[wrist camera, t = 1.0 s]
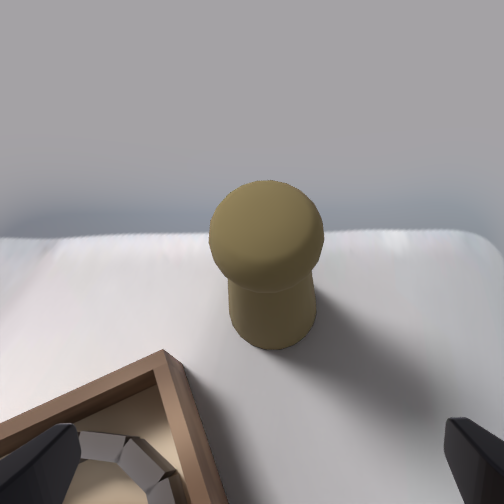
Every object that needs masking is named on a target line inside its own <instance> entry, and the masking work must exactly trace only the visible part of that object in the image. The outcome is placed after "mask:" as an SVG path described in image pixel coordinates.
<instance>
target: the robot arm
mask: <svg viewBox="0 0 504 504" xmlns="http://www.w3.org/2000/svg"><path fill="white" fill-rule="evenodd" d="M444 453H445V457H446V459H447V462H448V464H449V467H450V469H451V472H452V474H453V477H454V479H455V481H456V484H457V486H458V489H459V491H460V494H461V496H462V499H463V501H464V504H504V441H503V440H501V439H499V438H498V437H496V436H495V435H493V434H492V433H490V432H489V431H487V430H485V429H484V428H482V427H481V426H479V425H478V424H476V423H475V422H473V421H472V420H470V419H468V418H465V417H451V418H448V419H447V421H446V427H445V438H444ZM80 459H81V446H80V441H79V437H78V433H77V429H76V426H75V425H74V424H72V423H60V424H56V425H54V426H53V427H51V428H49V429H48V430H46V431H45V432H43V433H42V434H40V435H39V436H37V437H35V438H34V439H32V440H31V441H29V442H28V443H26V444H24V445H23V446H21V447H20V448H18V449H17V450H15V451H14V452H12V453H10V454H9V455H7V456H6V457H4V458H3V459H1V460H0V504H63V501H64V499H65V496H66V494H67V491H68V489H69V486H70V484H71V482H72V479H73V477H74V474H75V472H76V469H77V467H78V464H79V462H80Z"/></svg>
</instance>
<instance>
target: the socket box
mask: <svg viewBox="0 0 504 504" xmlns="http://www.w3.org/2000/svg"><path fill="white" fill-rule="evenodd" d="M60 423H72V424H74V425H75V426H76V429H77V433H78V437H79V441H80V446H81V459H80V462H79V464H78V467H77V469H76V472H75V474H74V477H73V479H72V482H71V484H70V486H69V489H68V491H67V494H66V496H65V499H64V501H63V504H229V503H228V500H227V497H226V494H225V491H224V488H223V485H222V482H221V479H220V476H219V473H218V470H217V467H216V464H215V461H214V458H213V455H212V452H211V449H210V446H209V443H208V440H207V437H206V434H205V431H204V428H203V425H202V422H201V419H200V416H199V413H198V410H197V407H196V404H195V401H194V398H193V395H192V392H191V389H190V386H189V383H188V380H187V377H186V374H185V371H184V368H183V365H182V363H181V362H179V361H178V360H177V359H175V358H174V357H173V356H171V355H170V354H169V353H167V352H166V351H165V350H163V349H162V350H160V351H158V352H155V353H153V354H151V355H149V356H147V357H145V358H142V359H140V360H138V361H136V362H134V363H131V364H129V365H127V366H125V367H123V368H120V369H118V370H116V371H114V372H112V373H110V374H107V375H105V376H103V377H101V378H99V379H96V380H94V381H92V382H90V383H88V384H86V385H83V386H81V387H79V388H77V389H75V390H72V391H70V392H68V393H66V394H64V395H61V396H59V397H57V398H55V399H53V400H51V401H48V402H46V403H44V404H42V405H40V406H37V407H35V408H33V409H31V410H29V411H27V412H24V413H22V414H20V415H18V416H16V417H13V418H11V419H9V420H7V421H5V422H2V423H0V460H1V459H3V458H4V457H6V456H7V455H9V454H10V453H12V452H14V451H15V450H17V449H18V448H20V447H21V446H23V445H24V444H26V443H28V442H29V441H31V440H32V439H34V438H35V437H37V436H39V435H40V434H42V433H43V432H45V431H46V430H48V429H49V428H51V427H53V426H54V425H56V424H60Z"/></svg>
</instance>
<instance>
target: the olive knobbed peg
mask: <svg viewBox="0 0 504 504" xmlns="http://www.w3.org/2000/svg"><path fill="white" fill-rule="evenodd" d="M323 243H324V231H323V223H322V219H321V216H320V214H319V212H318V210H317V208H316V206H315V205H314V203H313V202H312V201H311V200H310V199H309V198H308V197H307V196H306V195H305V194H304V193H302V192H301V191H300V190H299V189H297V188H295V187H293V186H291V185H289V184H287V183H282V182H278V181H273V180H270V181H269V180H268V181H255V182H252V183H249V184H245V185H242V186H240V187H239V188H237V189H235V190H234V191H232V192H230V193H229V194H228V195H227V196H226V198H225V199H224V200H223V201H222V202H221V203H220V204H219V205H218V207H217V208H216V210H215V212H214V214H213V217H212V219H211V222H210V232H209V245H210V249H211V253H212V256H213V259H214V261H215V263H216V265H217V266H218V268H219V269H220V270H221V272H222V273H223V274H224V276H225V277H227V278H228V295H229V314H230V317H231V321H232V324H233V326H234V328H235V329H236V331H237V332H238V334H239V335H240V337H242V338H243V339H244V340H246V341H247V342H248V343H250V344H251V345H253V346H256V347H259V348H262V349H265V350H280V349H283V348H286V347H289V346H292V345H295V344H296V343H297V342H299V341H300V340H301V339H303V338H304V337H305V336H306V335H307V333H308V332H309V330H310V329H311V327H312V326H313V323H314V320H315V316H316V312H317V311H316V298H315V291H314V285H313V278H312V269H313V268H314V267H315V265H316V264H317V262H318V261H319V257H320V254H321V250H322V247H323Z"/></svg>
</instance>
